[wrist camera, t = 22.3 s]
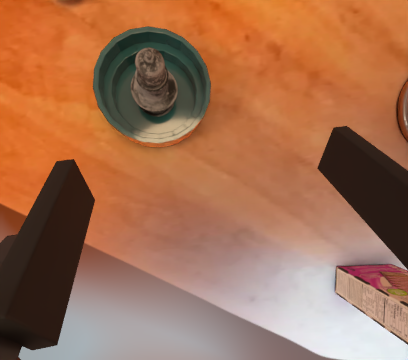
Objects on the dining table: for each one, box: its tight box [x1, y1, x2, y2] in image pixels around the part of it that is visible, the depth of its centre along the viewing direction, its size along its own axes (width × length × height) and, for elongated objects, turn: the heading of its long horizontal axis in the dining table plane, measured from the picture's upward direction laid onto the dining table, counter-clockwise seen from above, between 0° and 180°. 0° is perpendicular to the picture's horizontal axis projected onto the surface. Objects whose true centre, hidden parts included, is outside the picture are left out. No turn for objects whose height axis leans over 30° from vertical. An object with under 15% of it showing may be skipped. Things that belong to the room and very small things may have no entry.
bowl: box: [93, 27, 211, 147], centre depth 30 cm, size 14×14×5 cm
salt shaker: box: [131, 48, 178, 116], centre depth 26 cm, size 6×6×12 cm
